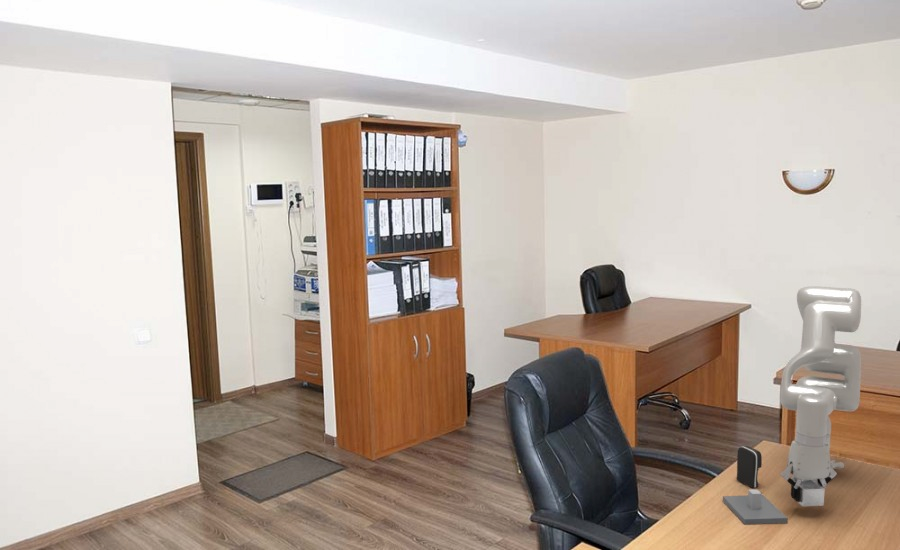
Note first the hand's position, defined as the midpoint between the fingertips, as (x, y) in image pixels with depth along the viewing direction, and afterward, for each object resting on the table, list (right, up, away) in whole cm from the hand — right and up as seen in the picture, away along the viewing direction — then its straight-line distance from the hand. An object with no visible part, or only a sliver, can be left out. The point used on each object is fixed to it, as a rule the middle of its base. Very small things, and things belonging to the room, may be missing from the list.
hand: (807, 498), depth 193 cm
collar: (0, -1, 0) cm, 1 cm away
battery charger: (-8, -2, +20) cm, 21 cm away
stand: (-14, -4, +2) cm, 15 cm away
